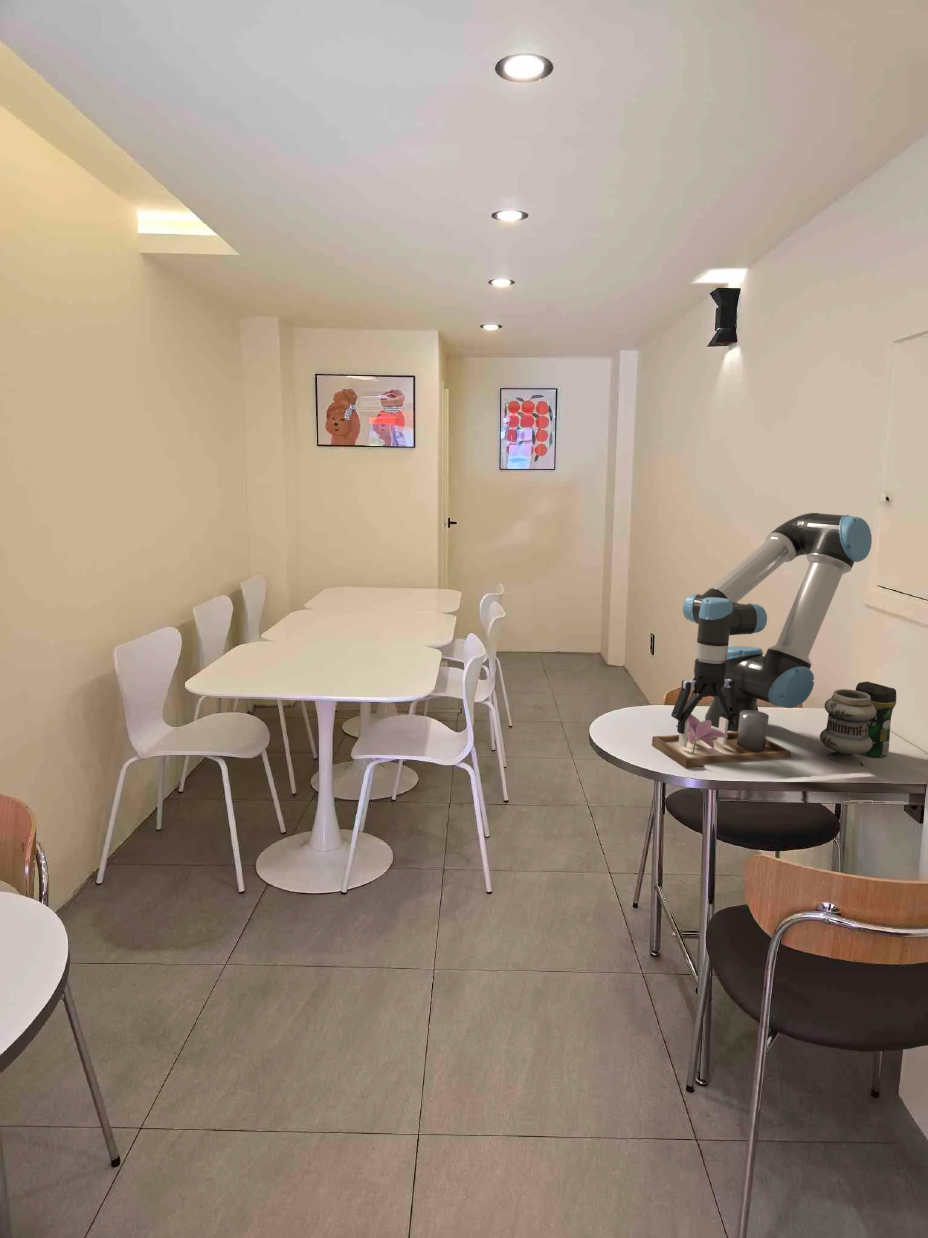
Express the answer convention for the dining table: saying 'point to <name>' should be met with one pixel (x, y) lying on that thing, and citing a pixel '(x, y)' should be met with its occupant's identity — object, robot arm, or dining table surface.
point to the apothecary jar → (848, 725)
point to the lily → (702, 731)
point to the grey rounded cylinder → (752, 730)
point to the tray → (714, 751)
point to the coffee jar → (879, 716)
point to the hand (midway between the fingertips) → (702, 744)
